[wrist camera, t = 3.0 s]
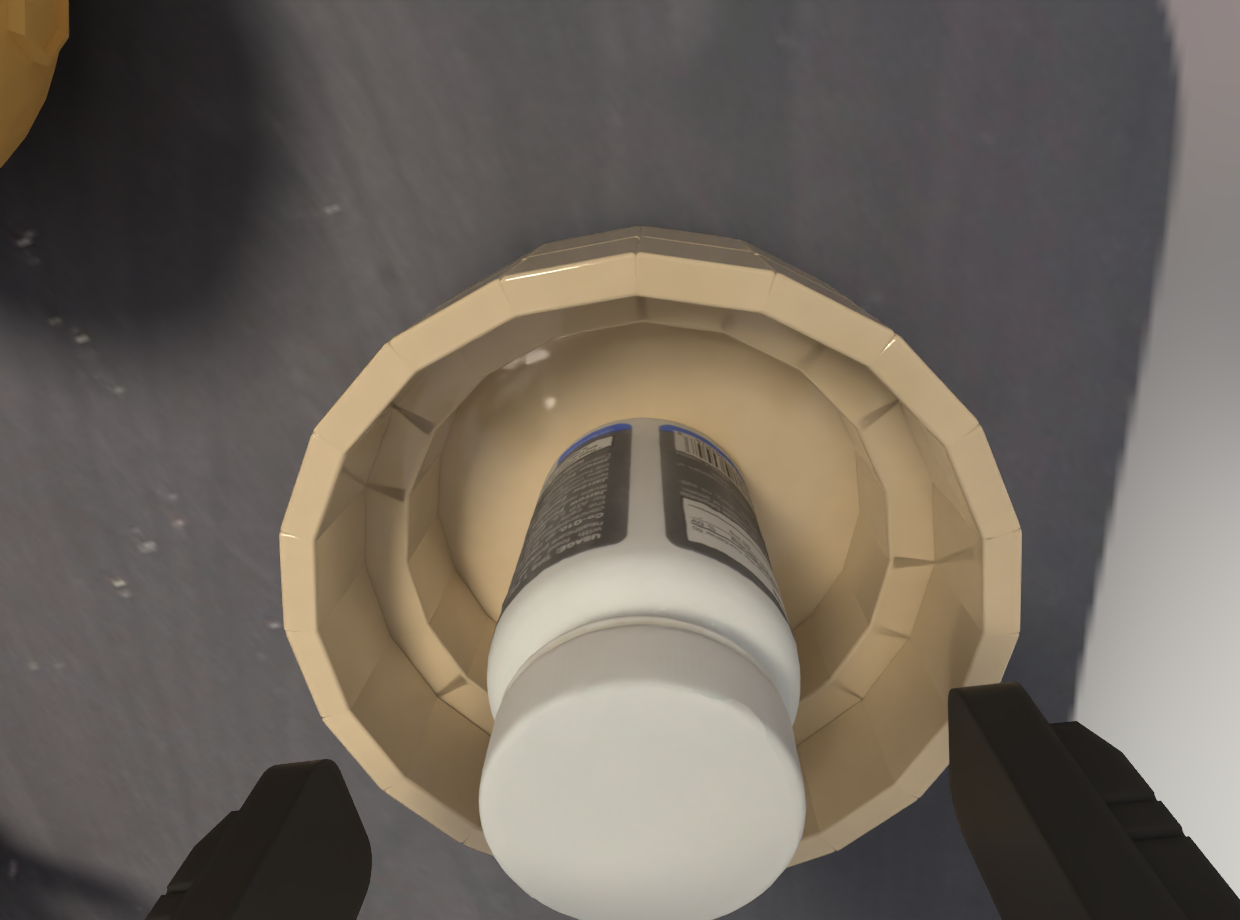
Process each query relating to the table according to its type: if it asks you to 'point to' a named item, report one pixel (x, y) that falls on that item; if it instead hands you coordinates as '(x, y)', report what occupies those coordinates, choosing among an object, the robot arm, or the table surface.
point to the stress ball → (27, 63)
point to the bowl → (675, 391)
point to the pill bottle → (643, 688)
